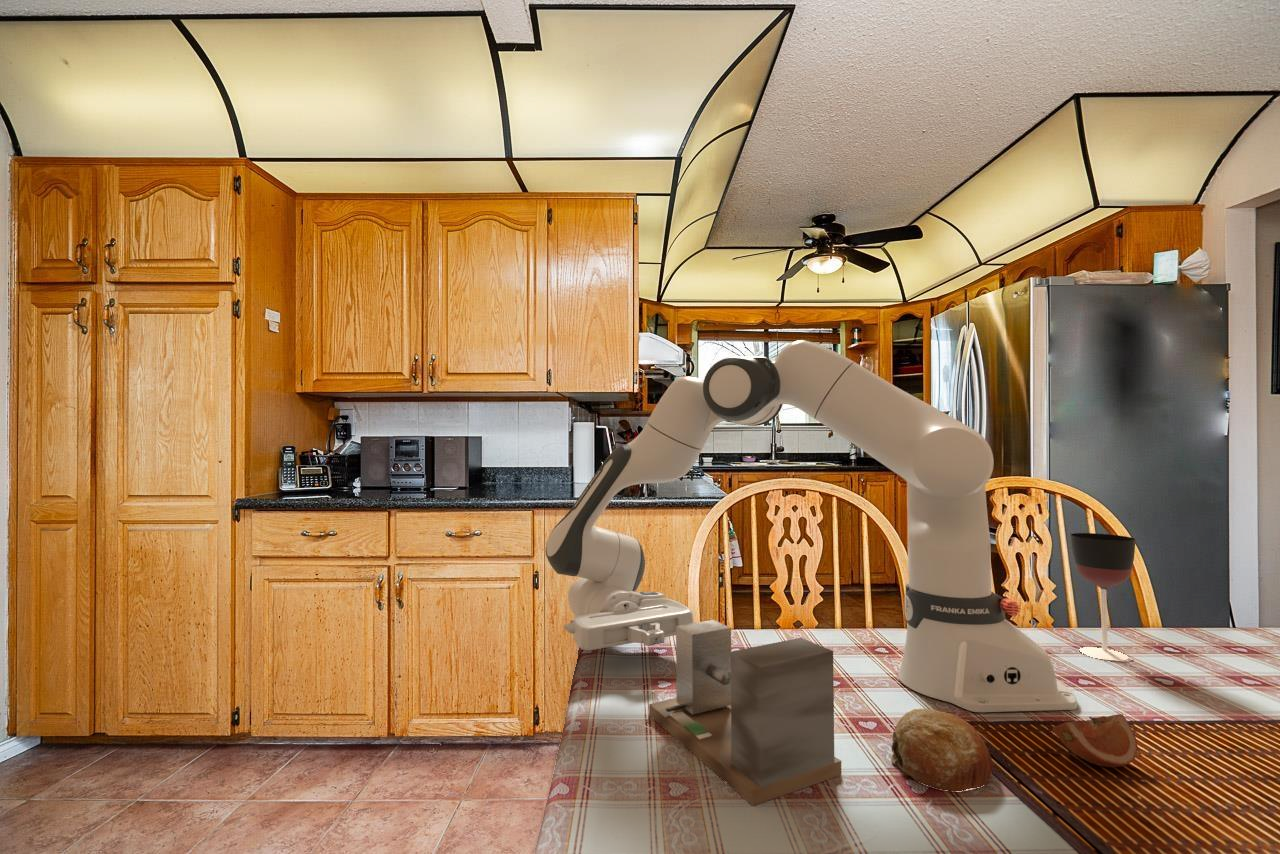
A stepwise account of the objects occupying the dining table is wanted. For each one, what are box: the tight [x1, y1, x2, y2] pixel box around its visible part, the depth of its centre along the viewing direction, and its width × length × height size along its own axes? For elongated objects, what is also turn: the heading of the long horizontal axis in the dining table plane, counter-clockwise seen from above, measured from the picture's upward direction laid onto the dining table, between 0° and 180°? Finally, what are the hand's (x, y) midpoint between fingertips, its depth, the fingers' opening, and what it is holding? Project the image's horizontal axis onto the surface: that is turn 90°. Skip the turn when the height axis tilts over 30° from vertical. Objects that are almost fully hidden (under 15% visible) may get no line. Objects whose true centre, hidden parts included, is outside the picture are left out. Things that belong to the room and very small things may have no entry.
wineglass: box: [1070, 532, 1136, 660], centre depth 101 cm, size 8×9×20 cm
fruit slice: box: [1052, 713, 1139, 768], centre depth 67 cm, size 8×7×5 cm
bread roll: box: [890, 708, 994, 791], centre depth 66 cm, size 10×10×8 cm
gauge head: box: [666, 619, 732, 715], centre depth 76 cm, size 7×9×10 cm
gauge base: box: [648, 637, 842, 807], centre depth 71 cm, size 22×12×14 cm, turn 27°
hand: (656, 639), depth 89 cm, fingers closed
